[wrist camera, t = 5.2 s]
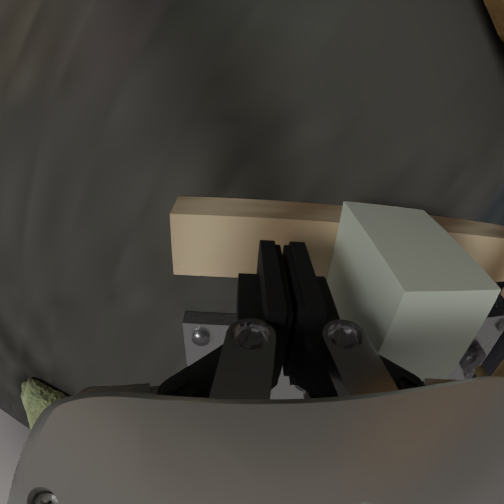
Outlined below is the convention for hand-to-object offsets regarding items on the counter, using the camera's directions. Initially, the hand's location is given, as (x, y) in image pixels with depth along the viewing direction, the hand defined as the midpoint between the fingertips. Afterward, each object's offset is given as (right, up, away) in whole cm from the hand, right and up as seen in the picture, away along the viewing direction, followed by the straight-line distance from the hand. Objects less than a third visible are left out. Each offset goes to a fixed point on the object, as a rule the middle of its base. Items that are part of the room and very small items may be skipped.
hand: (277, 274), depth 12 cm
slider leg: (+4, -3, +4) cm, 6 cm away
